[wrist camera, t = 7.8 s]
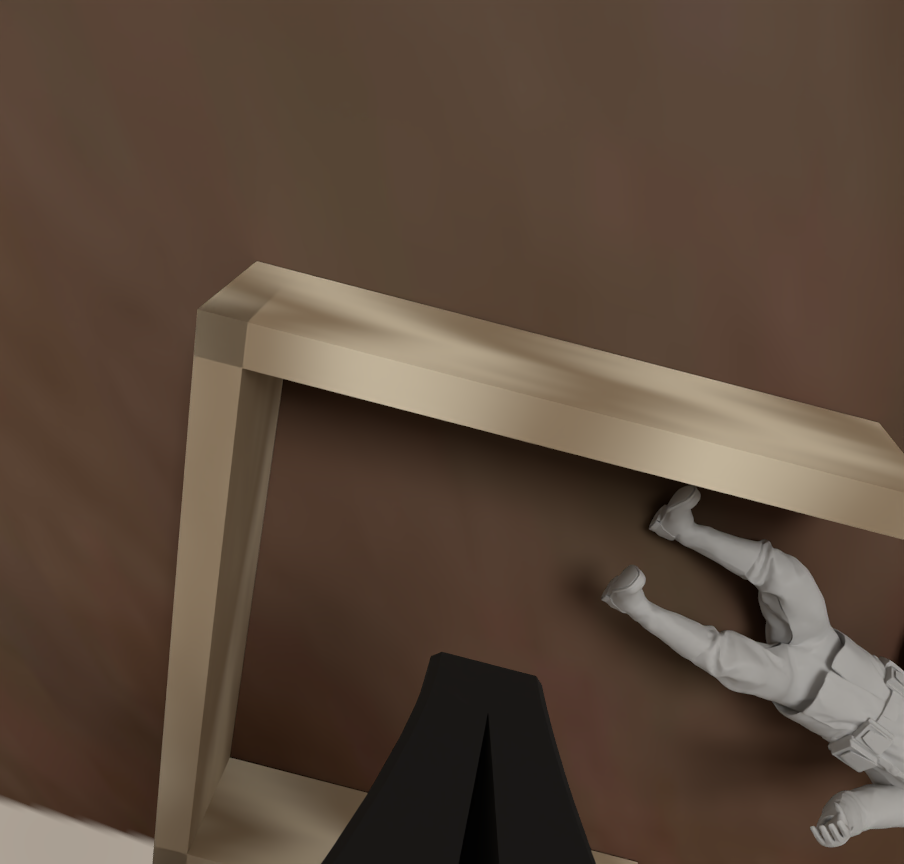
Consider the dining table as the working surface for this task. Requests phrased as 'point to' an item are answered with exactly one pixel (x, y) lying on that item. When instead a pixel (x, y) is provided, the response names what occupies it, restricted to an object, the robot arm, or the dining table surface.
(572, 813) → the robot arm
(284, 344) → the beech frame
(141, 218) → the dining table surface
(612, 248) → the dining table surface
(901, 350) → the dining table surface
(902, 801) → the soldier figure
